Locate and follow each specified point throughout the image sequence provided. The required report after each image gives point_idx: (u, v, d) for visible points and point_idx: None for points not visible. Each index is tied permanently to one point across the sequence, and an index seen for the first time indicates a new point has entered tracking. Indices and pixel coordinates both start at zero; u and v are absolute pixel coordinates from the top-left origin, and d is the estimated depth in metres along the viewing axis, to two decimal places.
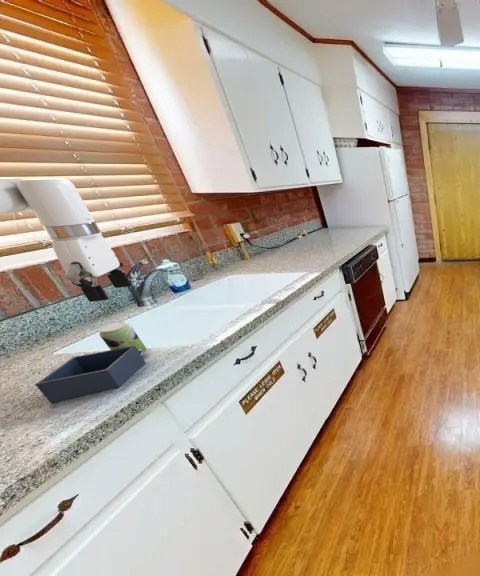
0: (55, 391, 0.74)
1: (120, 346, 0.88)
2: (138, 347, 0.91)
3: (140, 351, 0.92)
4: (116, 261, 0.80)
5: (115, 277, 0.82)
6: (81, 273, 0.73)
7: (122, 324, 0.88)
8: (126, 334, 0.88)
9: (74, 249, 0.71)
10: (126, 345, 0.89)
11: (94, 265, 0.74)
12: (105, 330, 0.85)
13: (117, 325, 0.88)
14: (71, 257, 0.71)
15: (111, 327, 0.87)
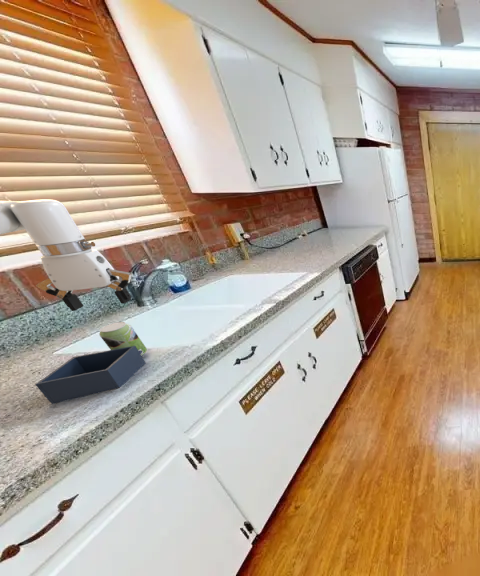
0: (55, 391, 0.74)
1: (120, 346, 0.88)
2: (138, 347, 0.91)
3: (140, 351, 0.92)
4: (100, 281, 0.81)
5: None
6: None
7: (122, 324, 0.88)
8: (126, 334, 0.88)
9: None
10: (126, 345, 0.89)
11: (56, 281, 0.78)
12: (105, 330, 0.85)
13: (117, 325, 0.88)
14: None
15: (111, 327, 0.87)
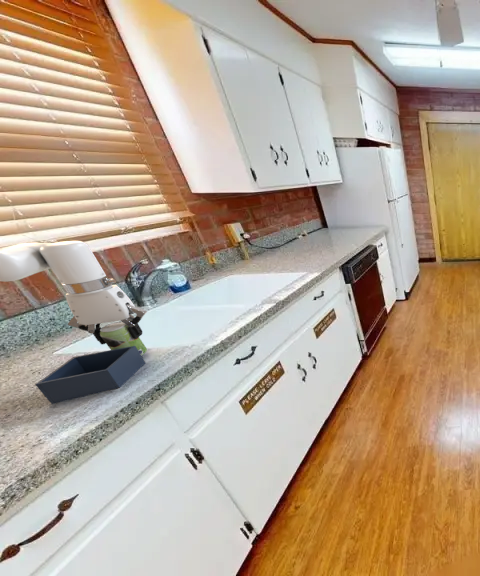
0: (55, 391, 0.74)
1: (120, 346, 0.88)
2: (138, 347, 0.91)
3: (140, 351, 0.92)
4: (119, 315, 0.86)
5: None
6: None
7: (122, 324, 0.88)
8: (127, 334, 0.88)
9: None
10: (126, 345, 0.89)
11: (79, 317, 0.82)
12: (105, 330, 0.86)
13: (117, 325, 0.88)
14: None
15: (111, 327, 0.87)
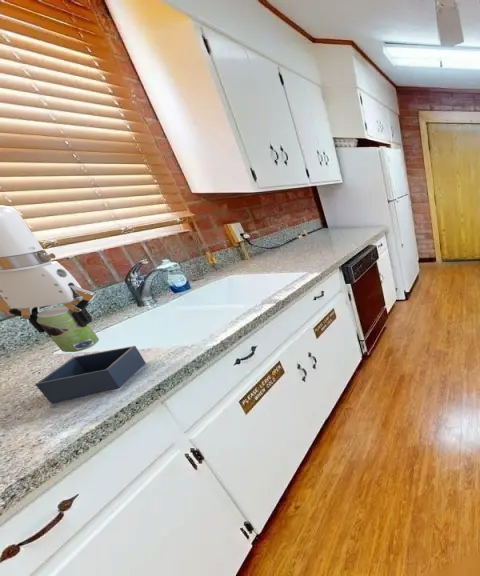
0: (55, 391, 0.74)
1: (63, 335, 0.74)
2: (87, 336, 0.77)
3: (89, 341, 0.78)
4: (60, 297, 0.72)
5: None
6: None
7: (66, 309, 0.74)
8: (71, 320, 0.74)
9: None
10: (71, 334, 0.75)
11: (8, 298, 0.68)
12: (43, 315, 0.72)
13: (60, 310, 0.74)
14: None
15: (51, 312, 0.73)
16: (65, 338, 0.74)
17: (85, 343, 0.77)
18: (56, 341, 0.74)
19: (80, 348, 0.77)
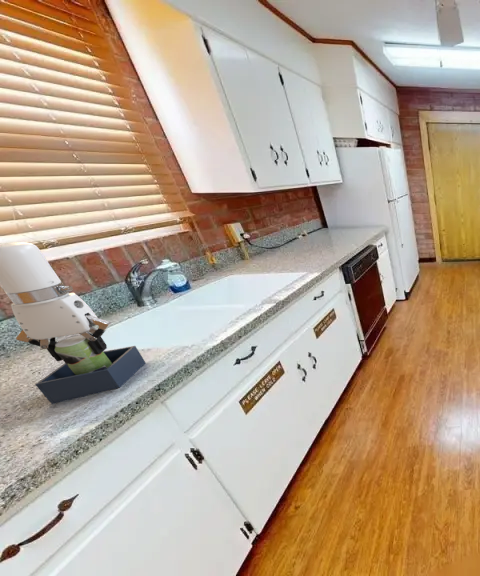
0: (55, 391, 0.74)
1: (79, 363, 0.77)
2: (102, 363, 0.80)
3: (104, 368, 0.81)
4: (77, 327, 0.74)
5: None
6: None
7: (82, 338, 0.77)
8: (87, 349, 0.77)
9: None
10: (87, 362, 0.77)
11: (28, 330, 0.71)
12: (61, 345, 0.74)
13: (76, 339, 0.77)
14: None
15: (68, 341, 0.76)
16: (81, 366, 0.77)
17: None
18: (73, 369, 0.77)
19: None
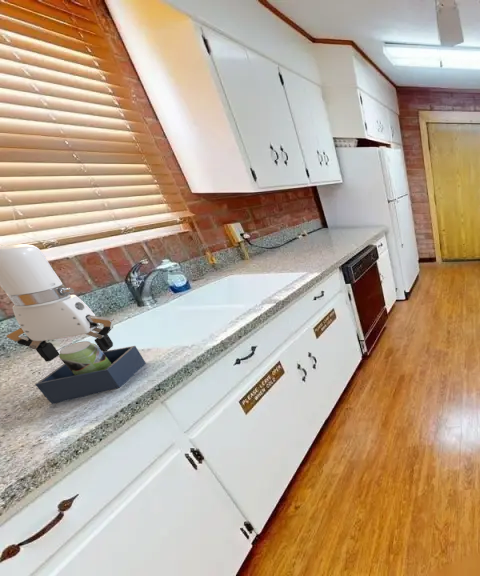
0: (55, 391, 0.74)
1: (84, 369, 0.77)
2: None
3: None
4: (78, 329, 0.75)
5: None
6: None
7: (86, 344, 0.78)
8: (91, 355, 0.78)
9: None
10: (91, 368, 0.78)
11: (29, 332, 0.71)
12: (65, 352, 0.75)
13: (80, 345, 0.77)
14: None
15: (73, 347, 0.77)
16: (85, 372, 0.78)
17: None
18: None
19: None
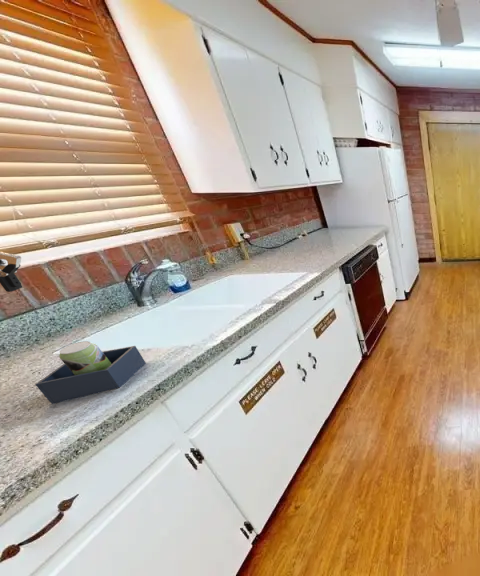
0: (55, 391, 0.74)
1: (84, 369, 0.77)
2: None
3: None
4: None
5: None
6: None
7: (86, 344, 0.78)
8: (91, 355, 0.78)
9: None
10: (91, 368, 0.78)
11: None
12: (65, 352, 0.75)
13: (80, 345, 0.77)
14: None
15: (73, 347, 0.77)
16: (85, 372, 0.78)
17: None
18: None
19: None
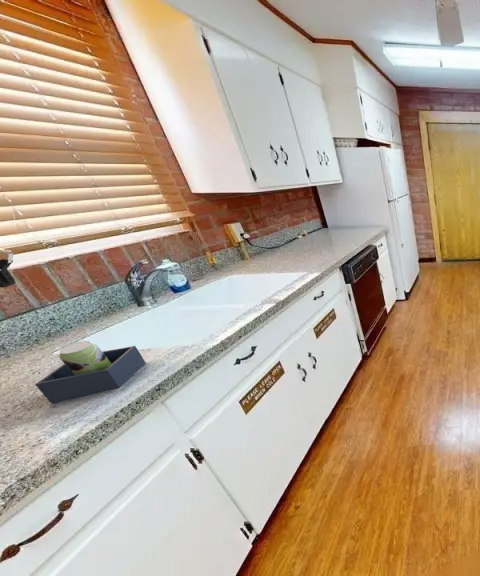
0: (55, 391, 0.74)
1: (84, 369, 0.77)
2: None
3: None
4: None
5: None
6: None
7: (86, 344, 0.78)
8: (91, 355, 0.78)
9: None
10: (91, 368, 0.78)
11: None
12: (65, 352, 0.75)
13: (80, 345, 0.77)
14: None
15: (73, 347, 0.77)
16: (85, 372, 0.78)
17: None
18: None
19: None
